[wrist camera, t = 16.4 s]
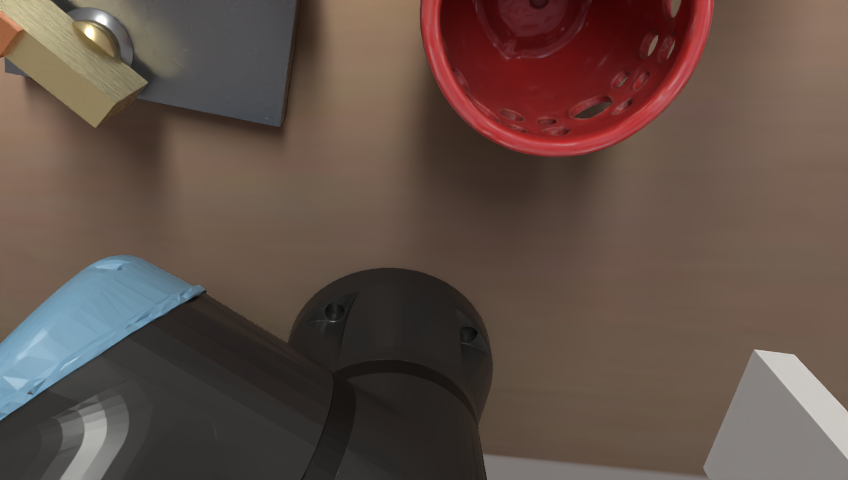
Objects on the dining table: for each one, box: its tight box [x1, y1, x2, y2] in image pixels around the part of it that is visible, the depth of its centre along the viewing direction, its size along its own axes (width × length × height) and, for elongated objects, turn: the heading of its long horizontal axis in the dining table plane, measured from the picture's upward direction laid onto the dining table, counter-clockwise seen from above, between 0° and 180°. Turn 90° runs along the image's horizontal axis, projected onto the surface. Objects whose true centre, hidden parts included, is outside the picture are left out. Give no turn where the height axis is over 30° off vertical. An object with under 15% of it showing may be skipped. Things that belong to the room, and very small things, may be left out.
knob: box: [0, 0, 148, 128], centre depth 36 cm, size 7×3×6 cm, turn 45°
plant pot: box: [420, 0, 714, 157], centre depth 35 cm, size 13×13×12 cm
